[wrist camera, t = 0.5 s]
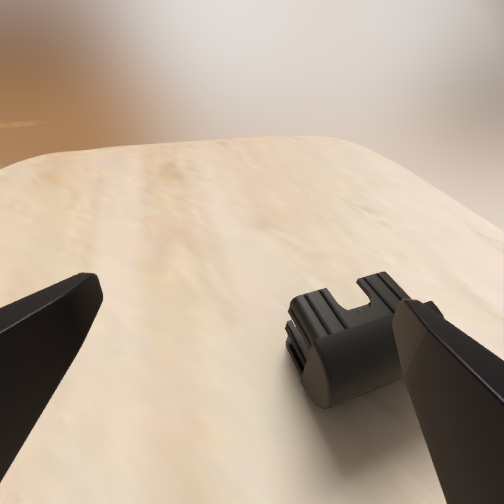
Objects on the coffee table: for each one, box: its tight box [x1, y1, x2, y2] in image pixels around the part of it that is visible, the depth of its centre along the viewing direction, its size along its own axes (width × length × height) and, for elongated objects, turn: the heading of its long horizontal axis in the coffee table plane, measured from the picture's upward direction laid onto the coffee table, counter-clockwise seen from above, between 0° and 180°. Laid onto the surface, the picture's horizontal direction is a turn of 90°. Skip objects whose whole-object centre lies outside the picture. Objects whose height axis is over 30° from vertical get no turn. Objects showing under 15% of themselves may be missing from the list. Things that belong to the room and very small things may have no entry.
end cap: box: [285, 272, 444, 408], centre depth 23 cm, size 10×7×7 cm
